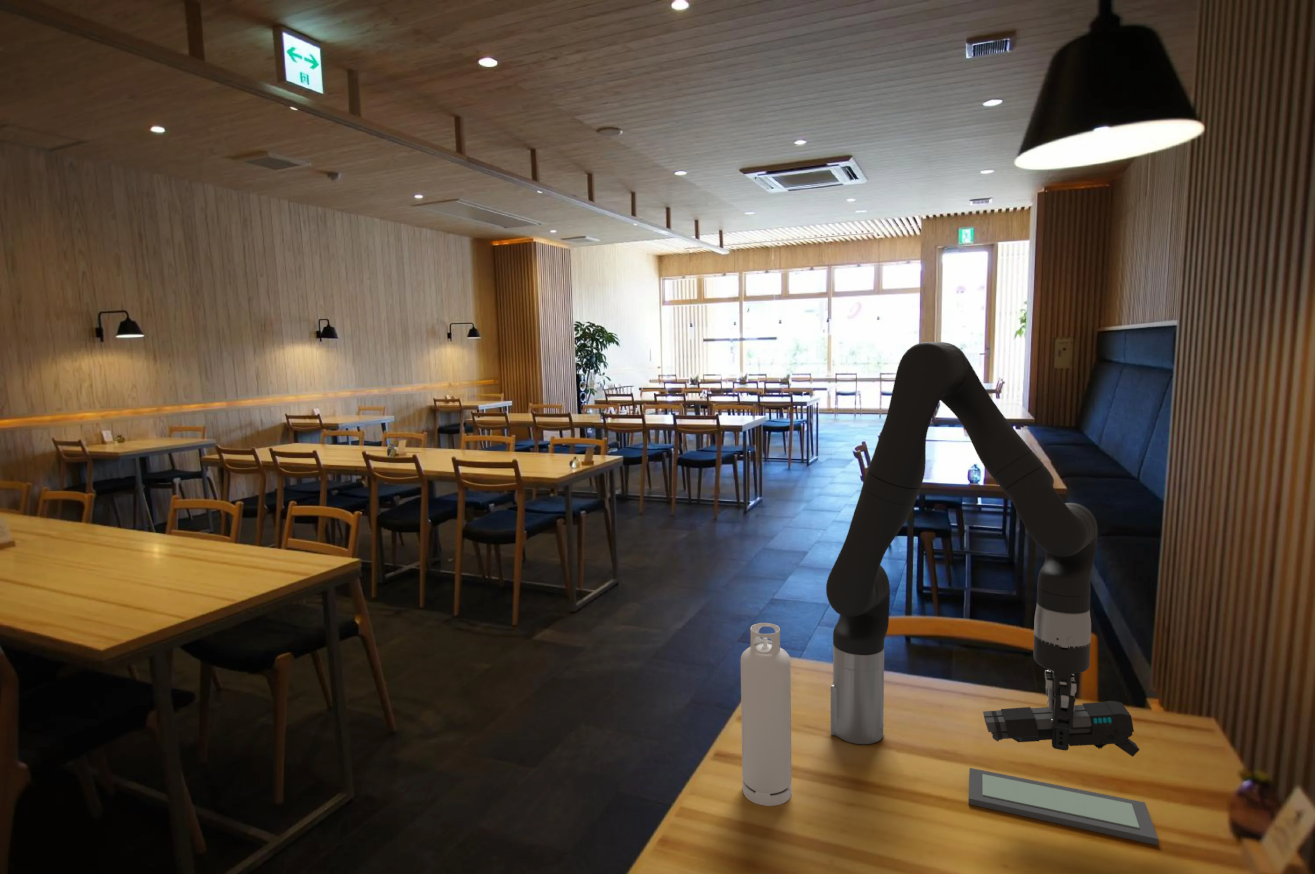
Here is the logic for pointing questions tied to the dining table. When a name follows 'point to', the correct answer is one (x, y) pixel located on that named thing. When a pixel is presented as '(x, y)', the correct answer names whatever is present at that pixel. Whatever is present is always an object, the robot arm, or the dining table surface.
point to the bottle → (766, 718)
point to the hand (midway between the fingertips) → (1058, 739)
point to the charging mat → (1062, 805)
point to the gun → (1089, 728)
